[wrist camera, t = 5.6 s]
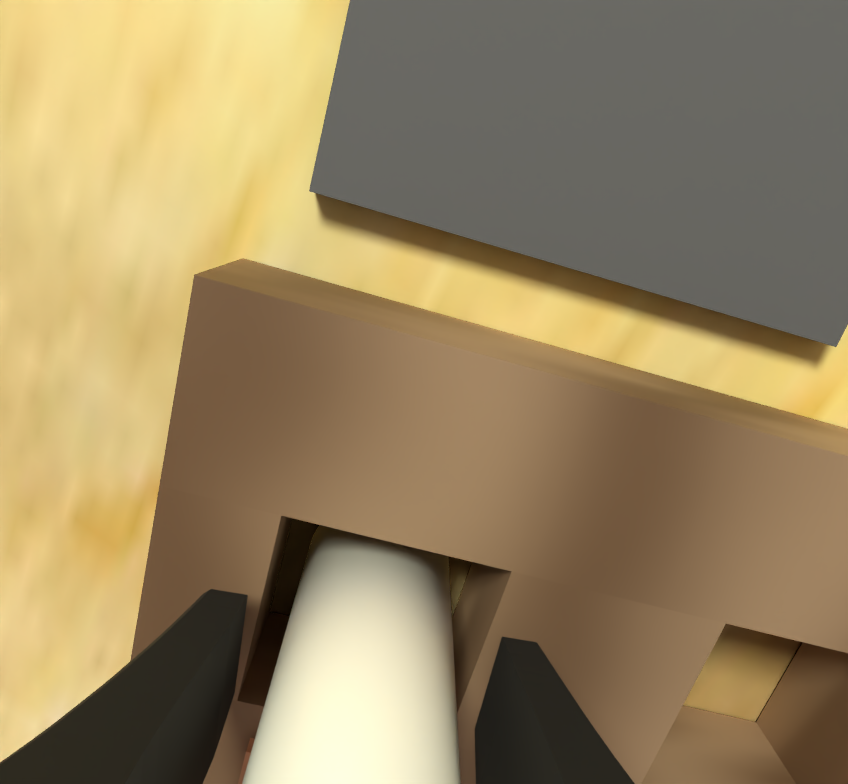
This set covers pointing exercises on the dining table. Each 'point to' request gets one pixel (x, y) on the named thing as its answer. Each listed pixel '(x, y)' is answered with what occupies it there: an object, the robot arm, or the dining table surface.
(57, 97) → the dining table surface
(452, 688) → the plug
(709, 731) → the socket board
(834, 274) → the mat
